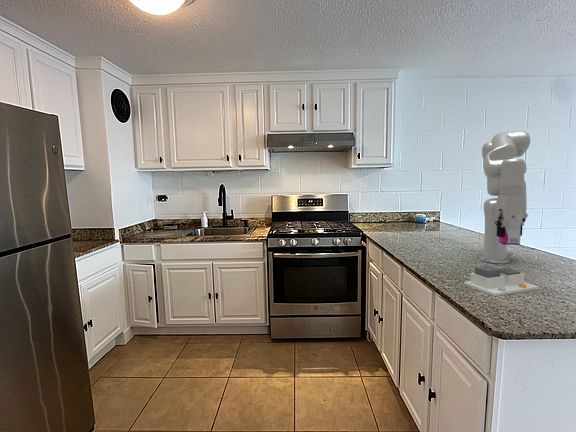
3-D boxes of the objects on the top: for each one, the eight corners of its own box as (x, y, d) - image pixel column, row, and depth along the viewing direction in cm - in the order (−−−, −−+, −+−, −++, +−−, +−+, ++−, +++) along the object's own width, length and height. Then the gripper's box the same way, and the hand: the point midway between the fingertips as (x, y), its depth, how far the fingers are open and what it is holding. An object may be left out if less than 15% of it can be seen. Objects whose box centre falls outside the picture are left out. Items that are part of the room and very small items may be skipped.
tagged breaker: (505, 277, 132) (506, 267, 131) (519, 281, 126) (520, 271, 125) (494, 279, 130) (494, 269, 130) (508, 283, 124) (508, 273, 124)
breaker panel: (505, 278, 135) (505, 266, 134) (538, 289, 121) (539, 276, 121) (464, 284, 129) (464, 272, 129) (494, 296, 116) (495, 282, 115)
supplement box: (514, 242, 128) (516, 213, 127) (520, 245, 122) (521, 215, 121) (498, 241, 130) (499, 213, 128) (502, 244, 124) (503, 215, 123)
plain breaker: (486, 275, 129) (487, 265, 128) (500, 279, 123) (500, 269, 123) (474, 276, 127) (474, 267, 127) (487, 281, 121) (488, 271, 121)
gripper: (519, 190, 130) (517, 233, 132) (485, 192, 125) (483, 236, 127) (538, 190, 122) (535, 236, 124) (502, 192, 118) (500, 239, 120)
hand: (509, 235), depth 126 cm, fingers closed on supplement box, 7 cm apart
